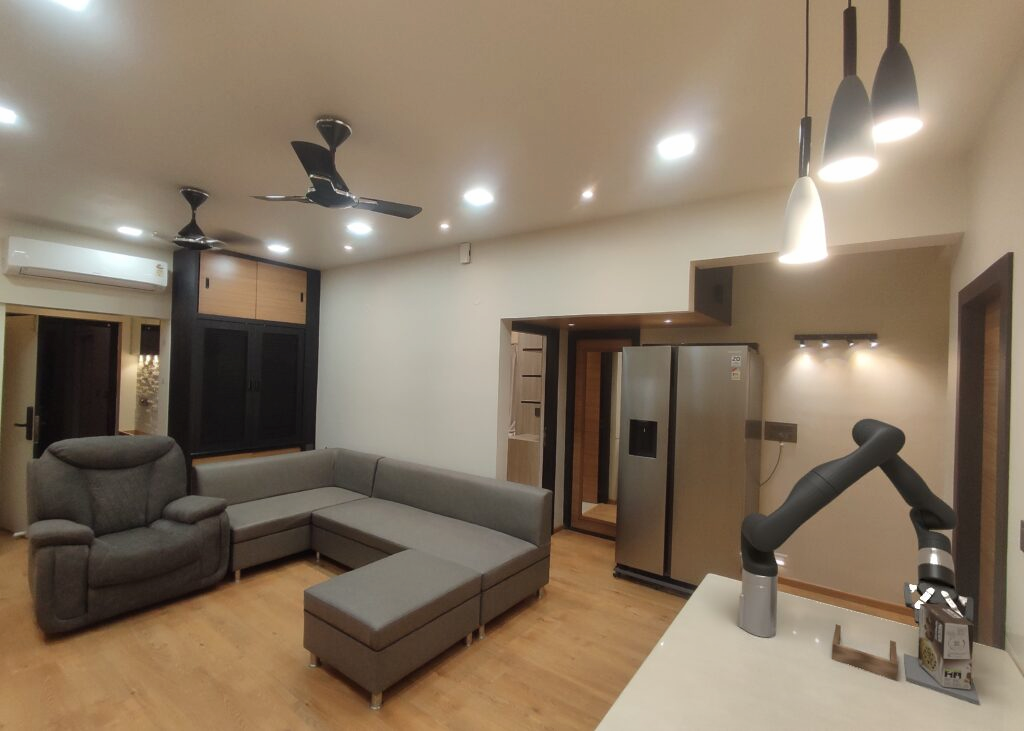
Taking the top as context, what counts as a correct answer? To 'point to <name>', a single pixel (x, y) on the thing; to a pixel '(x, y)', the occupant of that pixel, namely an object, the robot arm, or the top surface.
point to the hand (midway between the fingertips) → (939, 630)
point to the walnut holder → (865, 658)
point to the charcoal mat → (923, 678)
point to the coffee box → (945, 645)
